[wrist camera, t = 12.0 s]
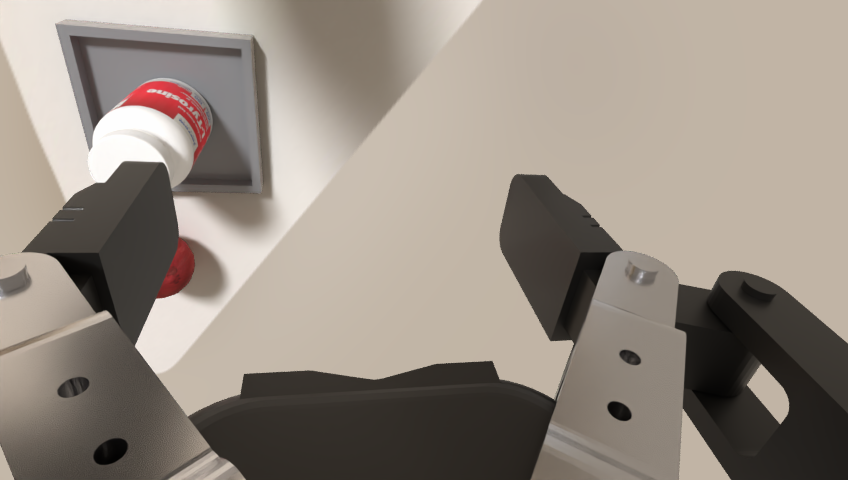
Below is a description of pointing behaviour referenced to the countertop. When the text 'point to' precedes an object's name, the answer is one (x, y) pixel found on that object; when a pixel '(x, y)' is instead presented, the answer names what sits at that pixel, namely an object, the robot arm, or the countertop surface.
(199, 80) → the slate dish
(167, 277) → the onion
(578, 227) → the robot arm
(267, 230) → the countertop surface
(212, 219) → the countertop surface
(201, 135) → the pill bottle
